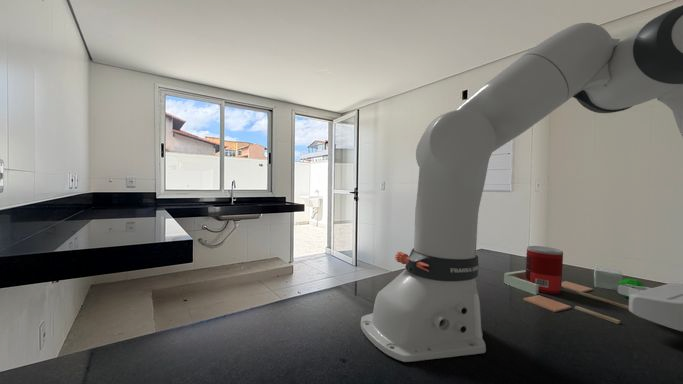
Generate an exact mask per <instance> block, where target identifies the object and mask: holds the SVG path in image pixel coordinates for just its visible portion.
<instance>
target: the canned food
mask: <svg viewBox="0 0 683 384" xmlns="http://www.w3.org/2000/svg"><path fill="white" fill-rule="evenodd" d="M525 260H526V261H525V270H526V279H525V281H529V282H532V283H535V284H538V285H539V288H538V293H541V292H542V293H541V294H547V293H548V294H549V295H557V294H560V293H561V291H562V287H561V283H562V282H563V279H562V278H563V265H564V264H563V262H564V251H563V250H561V249H559V248H554V247H548V246H540V245H529V246H527V247H526V259H525Z"/></svg>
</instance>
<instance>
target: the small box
mask: <svg viewBox="0 0 683 384" xmlns="http://www.w3.org/2000/svg"><path fill="white" fill-rule="evenodd" d="M622 280H623V274H622V272H621V270H619V269H613V268H606V267H602V266H601V267H600V266H594V267H593V283H594V287H595V288H601V289H606V290H611V291H615V292H618V286H619V283H620V282H621V281H622Z"/></svg>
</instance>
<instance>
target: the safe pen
mask: <svg viewBox="0 0 683 384" xmlns="http://www.w3.org/2000/svg"><path fill="white" fill-rule="evenodd" d="M503 274H504V275H503V284H504V283H505V284H504V285H506V284H507V286H509V285H510V286H509V287H513V288H515V289H518V290H521V291H524V292H527V293H529V294H532V295H534V296H536V295H537V294H538V295H539V292H538V288H539V285H538V284H535V283H532V282H529V281H525V279H526V269H524V270H518V271H509V272H504V273H503Z"/></svg>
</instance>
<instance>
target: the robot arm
mask: <svg viewBox="0 0 683 384" xmlns="http://www.w3.org/2000/svg"><path fill="white" fill-rule="evenodd" d="M571 98H574V99H576V101H577V102H578V103H579V104H580V105H582V106H583V108H584V109H587V110H589V111H591V112H594V113H596V114H597V113H598V114H611V113H618V112H623V111H626V110H628V109H631V108H632V107H634V106H638V105H641V104H644V103H646V102H649V101H653V100H655V99H656V100H657V101H658V102H660V103H662V104H664V105H665V106H667V108H669V109H670V110H671V111H672V114H673V117H674V120H675V123H676V125H677V128H678V130H679V132H680V135H681V137H682V138H683V4H682V5H680V6H677V7H675V8H673V9H670V10H668V11H666V12H663V13H661V14H660V15H658V16H656V17H654V18H653V19H650V20H649V21H648V22H647V23H645V24H644V25H643V27H641V28H639V29H638V30H636V31H634V32H633V33H631V34H630V35H628V36H627V37H625V38H623V39H622V40H621V39H620V38H613V37H612V36H611V34H610V32H608V30H606V28H604V27H603V26H601V25H599V24H596V23H593V22H592V23H591V22H581V23H576V24H572V25H570V26H568V27H566V28H564V29H562V30H560V31H558V32H557V33H555V34H553V35H552V36H550V37H548V38H546V39H544V40H543V41H542V42H540V43H538V44H537V45H536V46H534V47H533V48H531V49H530V50H528V51H527V52H526V53H524V54H523V55H521V56H520V57H519V58H517V59H516V60H515V61H514V62H512V63H511V64H510V65H509V66H507V67H506V68H505V69H503V70H502V71H501V72H500V73H498V74H496V75H495V76H494V77H493V78H492V79H490V80H489V81H488V82H486V83H485V84H484V85H483V86H481V87H480V88H479V89H478V90H476V92H475V93H473V94H472V95H471V96H470V97H469V98H467V99H466V100H465V101H464V102H462V104H461V105H459V106H458V107H457V108H456V109H455V110H451V111H448V112H446V113H443V114H440V115H439V116H437V117H436V118H434V120H432V121H431V122H430V123H429V124H428V125H427V127H426V128H425V130H424V132H423V134H422V136H421V137H420V140H419V141H418V143H417V145H416V148H415V159H416V160H415V161H416V163H417V166H418V167H419V171H418V180H417V181H418V182H417V183H418V185H417V194H416V203H415V213H414V214H415V215H414V237H413V238H414V239H413V248H412V249H411V251H410V253H409V254H407V253H405V252H402V251H397V252H396V254H395V255H394V259H395V260H396V262H397V263H401V264H402V265H405V266H404V267H405V269H404V270H403V271H402V272H400V274H398V275H397V276H396V277H395V278H394V279H392V281H390V282H389V283H388V284H387V285H385V286H384V287H383V288H382V289H381V290H379V291H378V293H377V295H376V297H375V301H374V305H373V309H372V310H373V311H372V313H368V314H364V315H363V316H361V319H360V328H361V331H362V333H363V334H364V335H365V337H366V338H367V339H368V340H369V341H370V343H372V344H373V345H374V346H375V347H377V349H379V350H380V351H381V352H383V353H384V354H385V355H387V356H389V357H391V358H393V359H395V360H398V361H401V362H402V363H403V362H404V363H407V362H408V363H410V362H411V363H412V362H420V361H426V360H427V361H429V360H435V359H444V358H453V357H460V356H470V355H477V354H478V355H479V354H485V353H486V352H487V347H486V342H485V340H484V339H483V336H484V335H483V330H482V322H481V321H482V319H481V318H482V317H481V304H480V302H481V301H480V296H479V292H478V289H477V283H476V278H477V277H478V276H479V268H480V264H479V256H478V254H477V244H478V243H477V241H478V238H477V237H478V223H479V222H478V221H479V211H480V205H481V201H482V197H483V191H484V188H485V184H486V180H487V179H486V178H487V174H488V173H487V172H488V167H489V162H490V159H491V156H492V154H493V153H494V152H495V151H498V149H500V148H501V147H503V146H504V145H507V143H509V142H511V141H513V139H516V138H517V137H518V136H520V135H522V134H523V133H525V132H526V131H528V130H529V129H530V128H532V127H533V126H534V125H536V124H537V123H538V122H540V121H542V120H543V119H544V118H545V117H547V116H548V115H550V114H551V113H552V112H554V111H555V110H557V109H558V108H559V107H561V106H562V105H563V104H565V103H566V102H568V101H569V100H570V99H571ZM617 293H618V294H619V295H622V294H623V295H622V296H624V295H626V296H629V298H628V306H629V310H628V311H629V312H631V313H632V315H635V316H637V317H639V318H641V319H644V320H647V321H650V322H652V323H655V324H657V325H661V326H663V327H667V328H670V329H673V330H676V331H680V332H683V284H682V283H676V282H670V283H667V284H663V285H659V286H656V287H649V286H645V287H640V286H633V285H629V284H624V285H620V286H618V291H617Z"/></svg>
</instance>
